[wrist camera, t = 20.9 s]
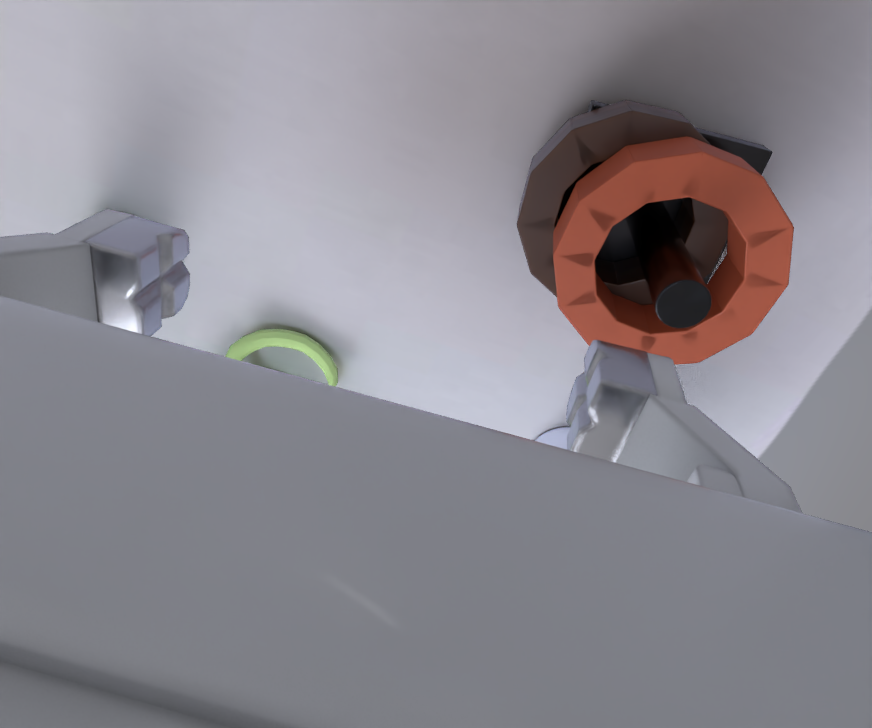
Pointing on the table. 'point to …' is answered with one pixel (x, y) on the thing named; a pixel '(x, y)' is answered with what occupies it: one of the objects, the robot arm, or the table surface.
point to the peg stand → (668, 242)
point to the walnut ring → (592, 144)
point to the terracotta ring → (658, 181)
